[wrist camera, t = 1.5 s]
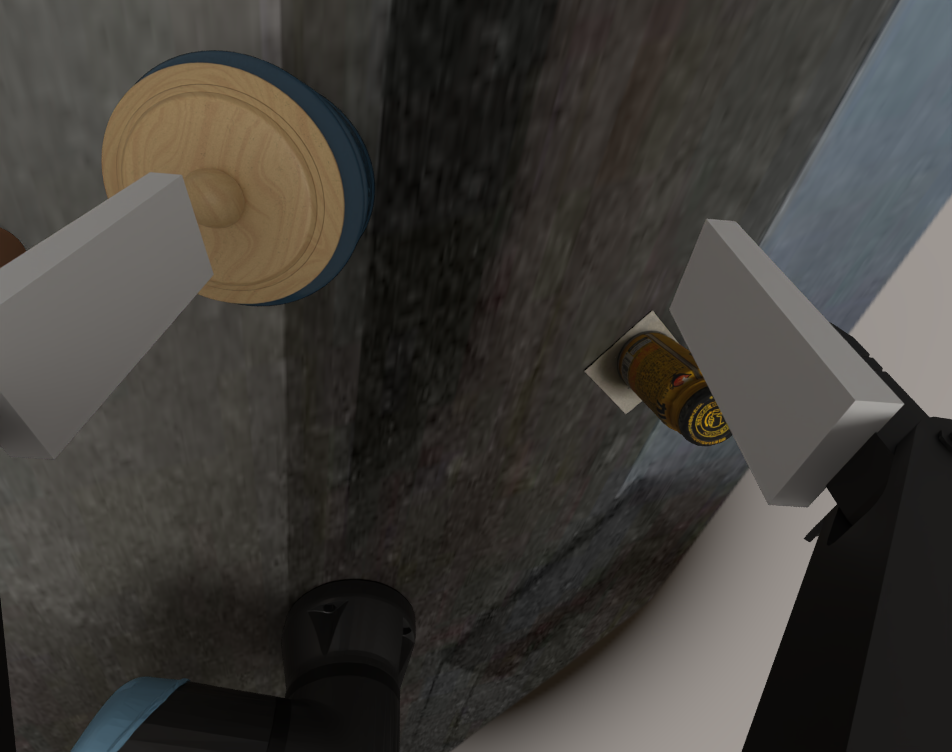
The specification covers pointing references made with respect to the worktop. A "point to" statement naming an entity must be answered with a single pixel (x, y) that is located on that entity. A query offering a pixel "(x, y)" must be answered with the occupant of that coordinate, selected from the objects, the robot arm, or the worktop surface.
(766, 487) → the robot arm
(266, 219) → the canister
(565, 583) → the worktop surface
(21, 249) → the peg
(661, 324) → the condiment
